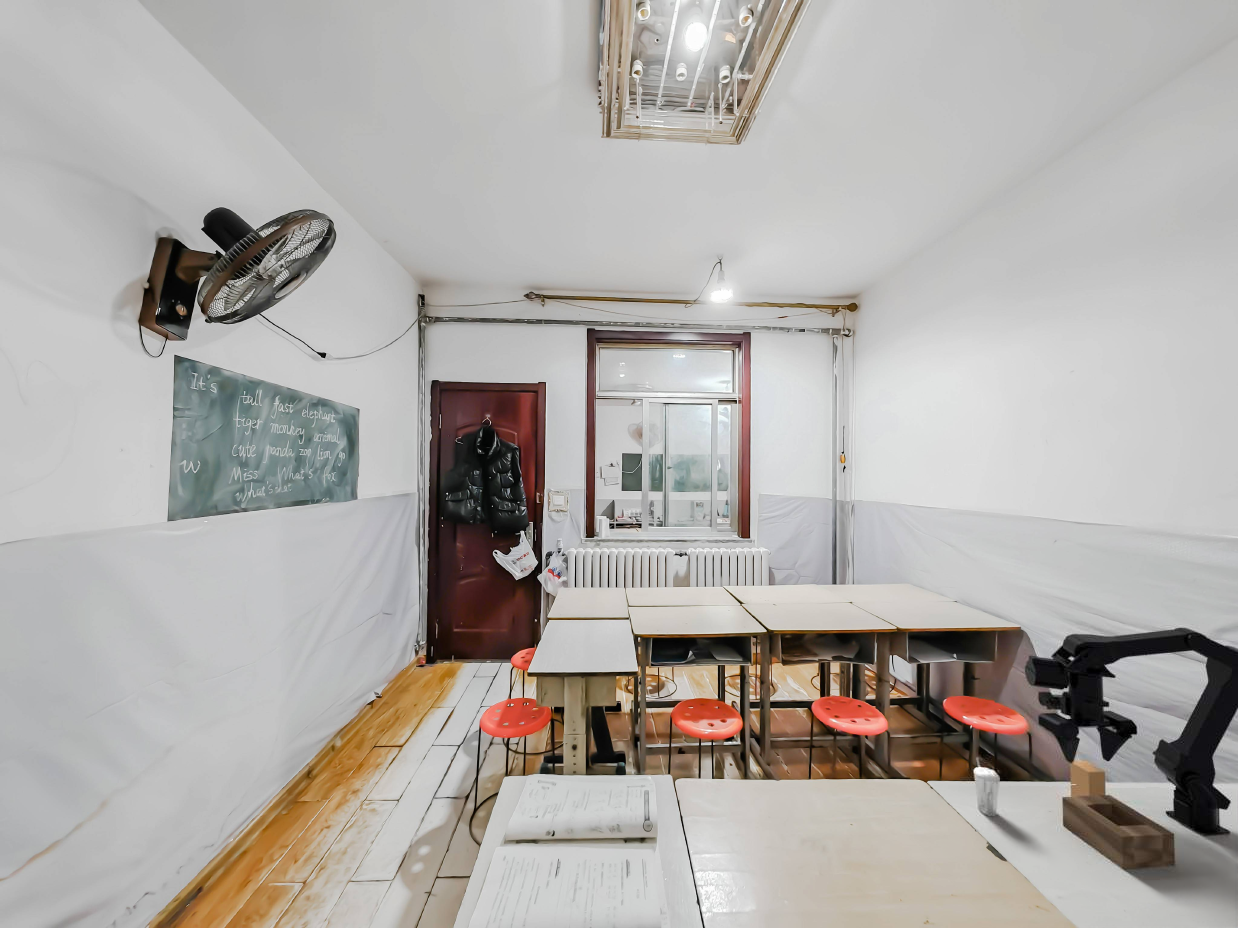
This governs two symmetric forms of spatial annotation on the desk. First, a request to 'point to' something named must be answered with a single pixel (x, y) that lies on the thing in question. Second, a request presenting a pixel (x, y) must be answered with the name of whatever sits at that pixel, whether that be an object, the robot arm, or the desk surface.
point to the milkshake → (986, 789)
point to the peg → (1086, 779)
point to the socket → (1119, 832)
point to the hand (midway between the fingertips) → (1087, 760)
